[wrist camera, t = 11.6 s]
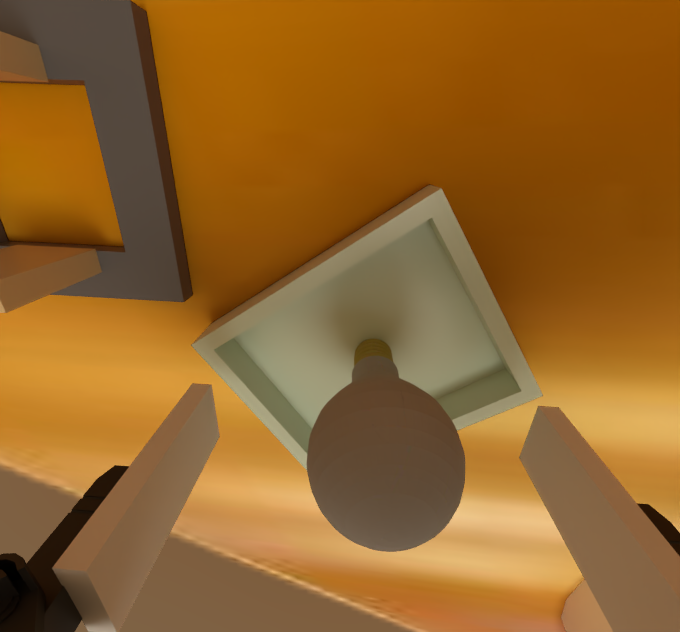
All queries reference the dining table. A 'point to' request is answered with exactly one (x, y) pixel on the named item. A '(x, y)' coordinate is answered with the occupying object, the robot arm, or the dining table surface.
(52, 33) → the frame
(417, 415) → the light bulb
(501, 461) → the dining table surface
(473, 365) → the parts tray
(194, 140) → the dining table surface
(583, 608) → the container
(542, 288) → the dining table surface
